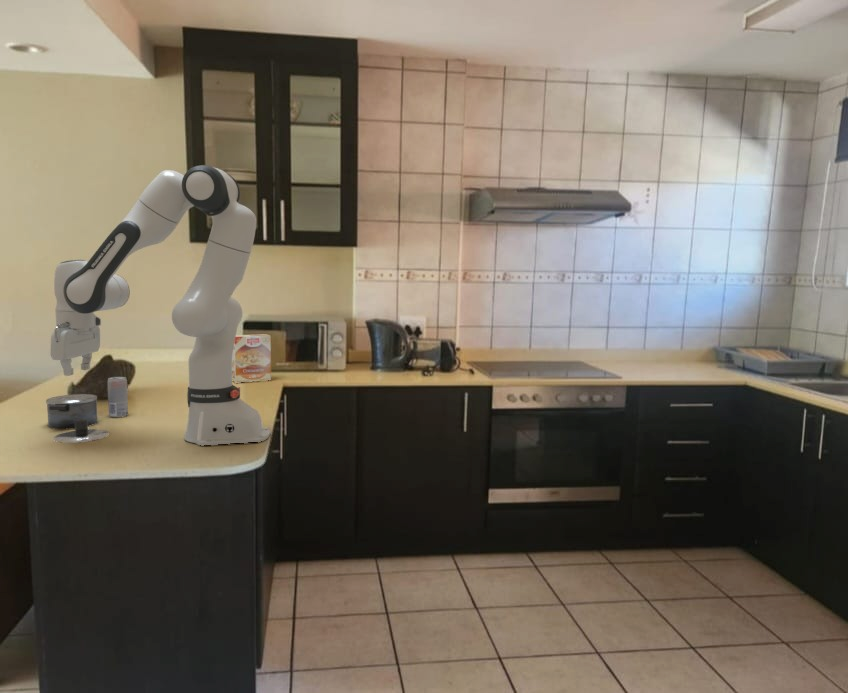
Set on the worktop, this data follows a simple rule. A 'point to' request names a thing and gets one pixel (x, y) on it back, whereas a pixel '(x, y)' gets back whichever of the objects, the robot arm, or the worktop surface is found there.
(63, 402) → the pot
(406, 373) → the worktop surface
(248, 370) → the coffeecake box
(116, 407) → the energy drink
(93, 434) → the lid
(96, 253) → the robot arm
